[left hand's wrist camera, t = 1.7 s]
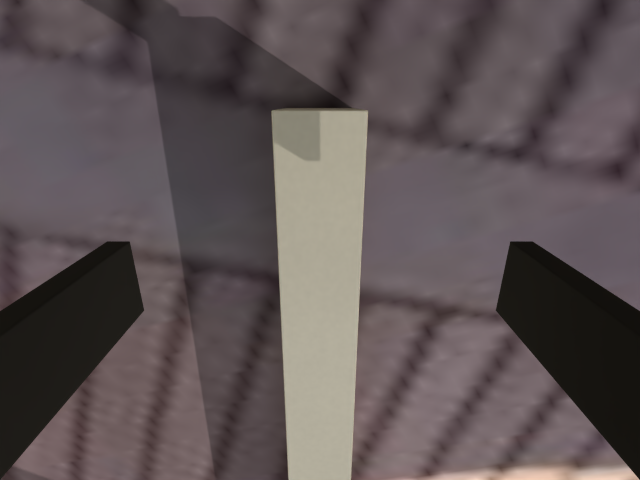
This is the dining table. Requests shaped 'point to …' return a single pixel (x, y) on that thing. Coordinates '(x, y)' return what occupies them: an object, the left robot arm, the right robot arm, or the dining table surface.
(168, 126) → the dining table surface
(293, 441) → the post
